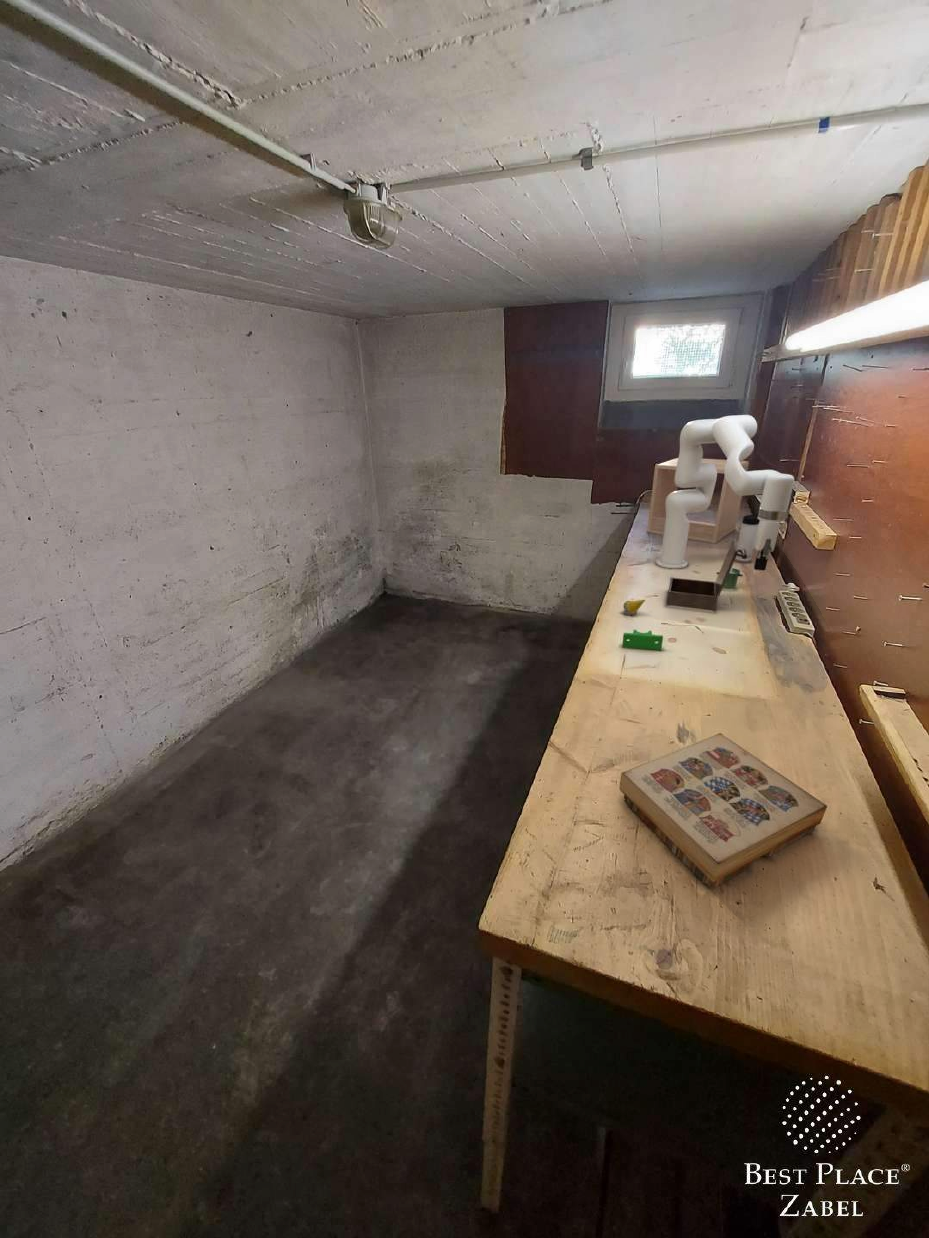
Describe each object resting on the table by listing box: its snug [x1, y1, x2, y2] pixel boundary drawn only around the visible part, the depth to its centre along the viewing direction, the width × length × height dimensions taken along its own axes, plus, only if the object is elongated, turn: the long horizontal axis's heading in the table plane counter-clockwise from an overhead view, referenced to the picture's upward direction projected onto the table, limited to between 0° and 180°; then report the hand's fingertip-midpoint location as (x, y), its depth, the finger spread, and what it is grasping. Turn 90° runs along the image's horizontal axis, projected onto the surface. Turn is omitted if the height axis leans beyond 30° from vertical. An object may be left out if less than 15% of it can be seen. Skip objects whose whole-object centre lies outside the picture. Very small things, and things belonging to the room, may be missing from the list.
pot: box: [716, 567, 744, 590], centre depth 183 cm, size 9×7×7 cm
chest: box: [665, 577, 719, 612], centre depth 173 cm, size 16×15×6 cm
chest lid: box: [715, 537, 747, 597], centre depth 164 cm, size 16×15×5 cm
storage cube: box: [646, 457, 750, 544], centre depth 246 cm, size 34×29×34 cm
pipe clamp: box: [621, 629, 664, 651], centre depth 146 cm, size 11×4×5 cm, turn 76°
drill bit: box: [623, 599, 646, 617], centre depth 165 cm, size 5×5×10 cm
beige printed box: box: [618, 732, 828, 890], centre depth 90 cm, size 25×6×28 cm
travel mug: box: [734, 514, 760, 564], centre depth 206 cm, size 6×7×20 cm
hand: (759, 569), depth 161 cm, fingers closed
